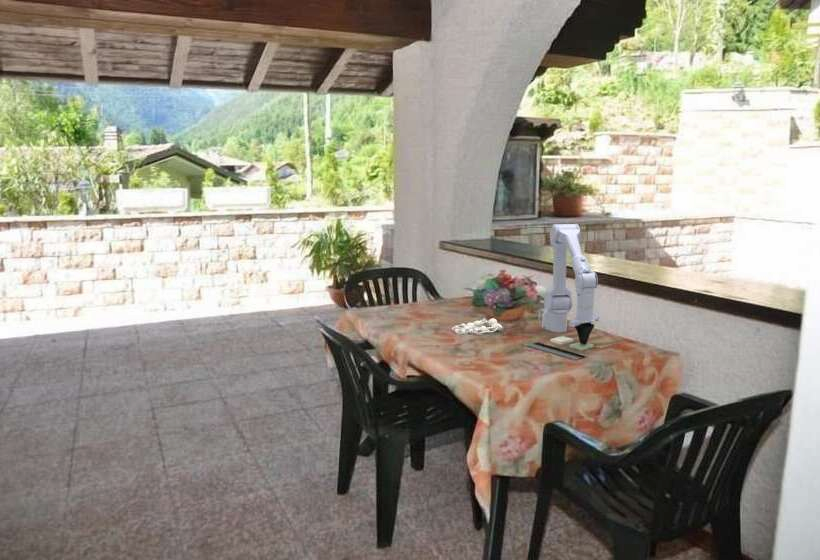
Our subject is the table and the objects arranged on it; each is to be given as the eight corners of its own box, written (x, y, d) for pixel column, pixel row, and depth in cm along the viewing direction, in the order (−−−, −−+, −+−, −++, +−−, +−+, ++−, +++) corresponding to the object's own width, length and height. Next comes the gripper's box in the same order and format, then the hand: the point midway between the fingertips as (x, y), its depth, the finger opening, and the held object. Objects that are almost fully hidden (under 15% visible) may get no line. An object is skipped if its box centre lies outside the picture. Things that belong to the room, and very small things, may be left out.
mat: (526, 346, 218) (526, 345, 218) (552, 339, 226) (552, 338, 226) (575, 360, 201) (575, 359, 200) (600, 353, 209) (600, 352, 209)
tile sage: (569, 350, 211) (569, 344, 211) (581, 346, 215) (581, 341, 215) (581, 353, 207) (581, 347, 207) (593, 349, 212) (593, 344, 211)
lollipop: (535, 321, 255) (536, 287, 252) (529, 318, 260) (530, 285, 258) (548, 320, 256) (550, 286, 254) (542, 317, 262) (543, 284, 259)
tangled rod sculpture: (456, 340, 232) (456, 330, 231) (449, 328, 246) (449, 318, 245) (505, 336, 234) (505, 327, 233) (495, 325, 248) (495, 315, 247)
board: (555, 340, 226) (556, 336, 226) (579, 334, 234) (579, 330, 234) (600, 352, 210) (600, 348, 210) (623, 345, 218) (623, 341, 218)
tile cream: (550, 344, 219) (550, 339, 218) (562, 341, 223) (562, 336, 222) (560, 347, 215) (561, 342, 214) (573, 344, 219) (573, 338, 218)
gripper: (581, 311, 202) (579, 349, 204) (607, 305, 211) (605, 342, 213) (564, 307, 208) (563, 344, 210) (590, 302, 216) (588, 338, 218)
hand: (583, 343), depth 212 cm, fingers closed
